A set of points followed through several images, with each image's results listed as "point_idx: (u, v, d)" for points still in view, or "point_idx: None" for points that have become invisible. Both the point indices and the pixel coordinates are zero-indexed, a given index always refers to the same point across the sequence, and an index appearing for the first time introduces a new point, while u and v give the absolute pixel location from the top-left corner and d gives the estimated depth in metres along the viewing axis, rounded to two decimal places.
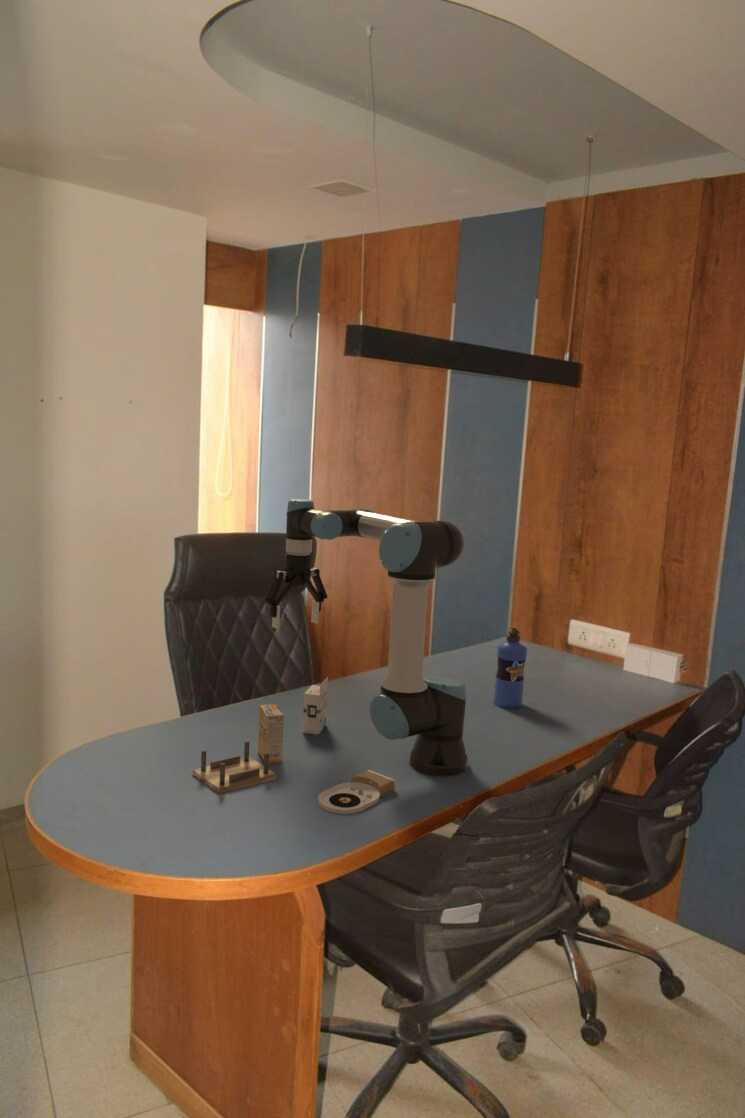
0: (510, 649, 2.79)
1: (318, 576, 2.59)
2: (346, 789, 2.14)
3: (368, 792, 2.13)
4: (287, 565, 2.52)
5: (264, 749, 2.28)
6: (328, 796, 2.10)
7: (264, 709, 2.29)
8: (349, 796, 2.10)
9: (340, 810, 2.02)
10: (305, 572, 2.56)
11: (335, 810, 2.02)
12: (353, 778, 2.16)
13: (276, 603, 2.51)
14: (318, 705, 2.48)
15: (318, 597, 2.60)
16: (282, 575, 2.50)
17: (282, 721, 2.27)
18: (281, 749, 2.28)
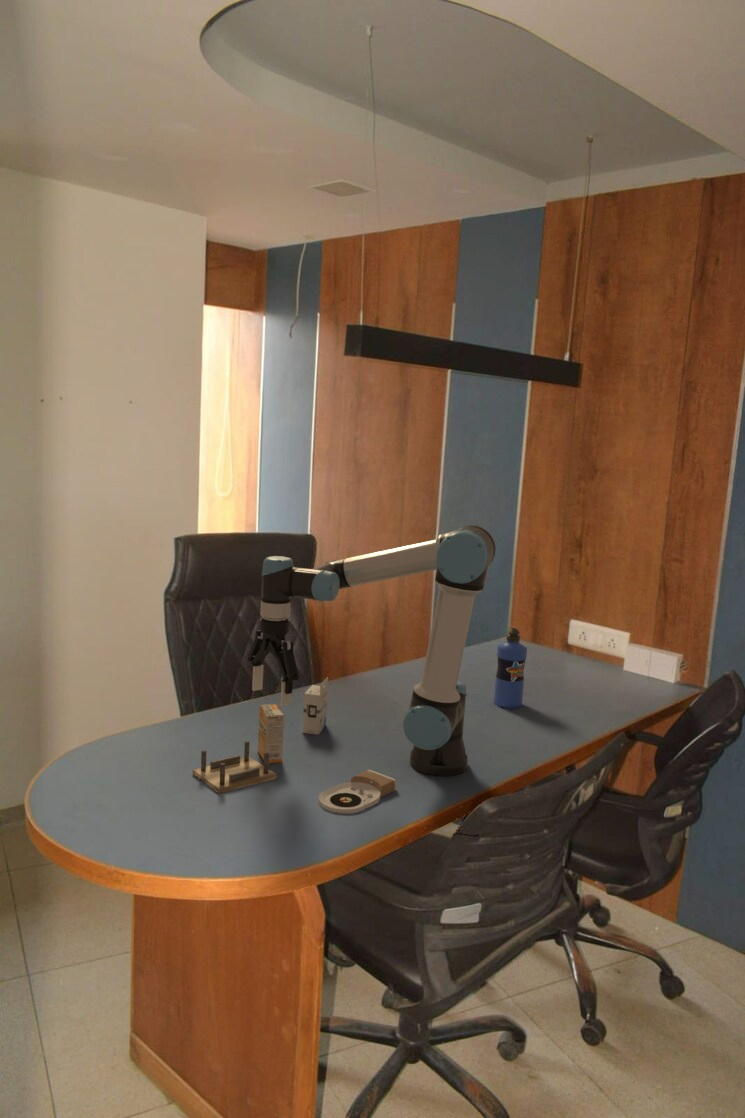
0: (510, 649, 2.79)
1: (284, 651, 2.21)
2: (347, 789, 2.14)
3: (369, 792, 2.13)
4: None
5: (264, 749, 2.28)
6: (329, 796, 2.10)
7: (264, 709, 2.29)
8: (350, 795, 2.10)
9: (341, 810, 2.02)
10: (274, 640, 2.24)
11: (336, 810, 2.02)
12: (354, 778, 2.16)
13: (252, 662, 2.33)
14: (318, 705, 2.48)
15: (283, 675, 2.22)
16: (257, 634, 2.30)
17: (282, 721, 2.27)
18: (281, 749, 2.28)
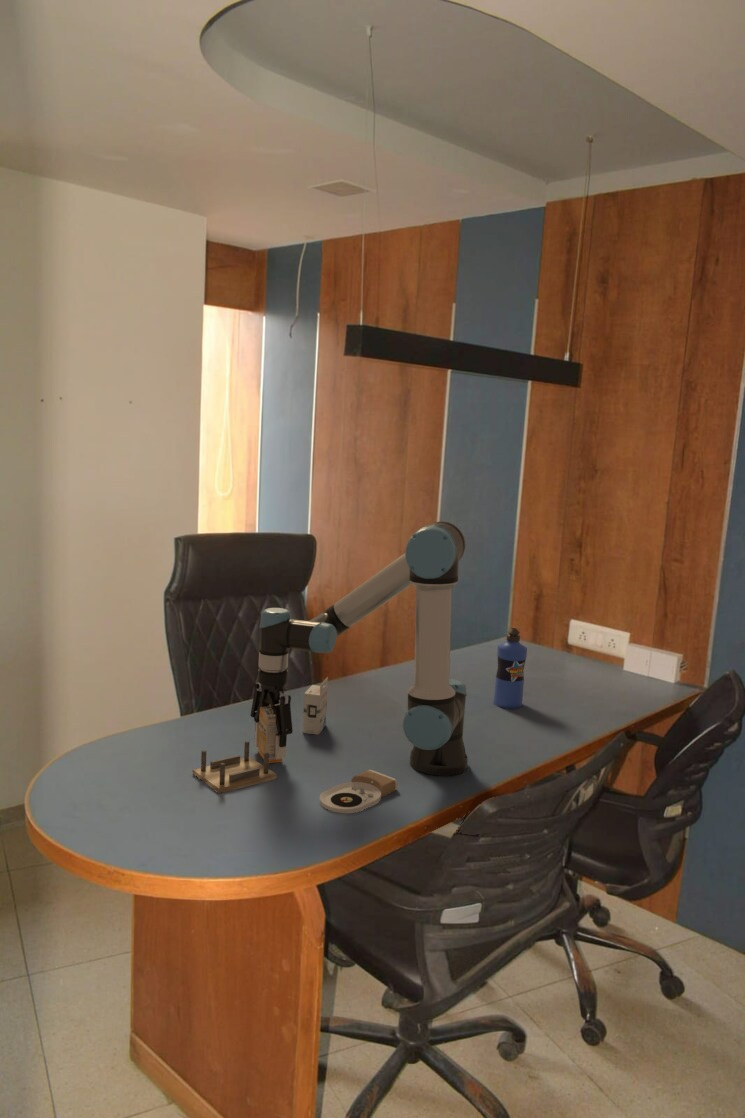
0: (510, 649, 2.79)
1: (281, 705, 2.24)
2: (347, 789, 2.14)
3: (369, 792, 2.13)
4: None
5: (264, 749, 2.28)
6: (330, 796, 2.10)
7: (264, 709, 2.29)
8: (350, 795, 2.11)
9: (342, 809, 2.02)
10: (272, 691, 2.27)
11: (336, 810, 2.02)
12: (354, 778, 2.16)
13: (255, 718, 2.34)
14: (318, 705, 2.48)
15: (278, 729, 2.26)
16: (256, 687, 2.33)
17: None
18: None
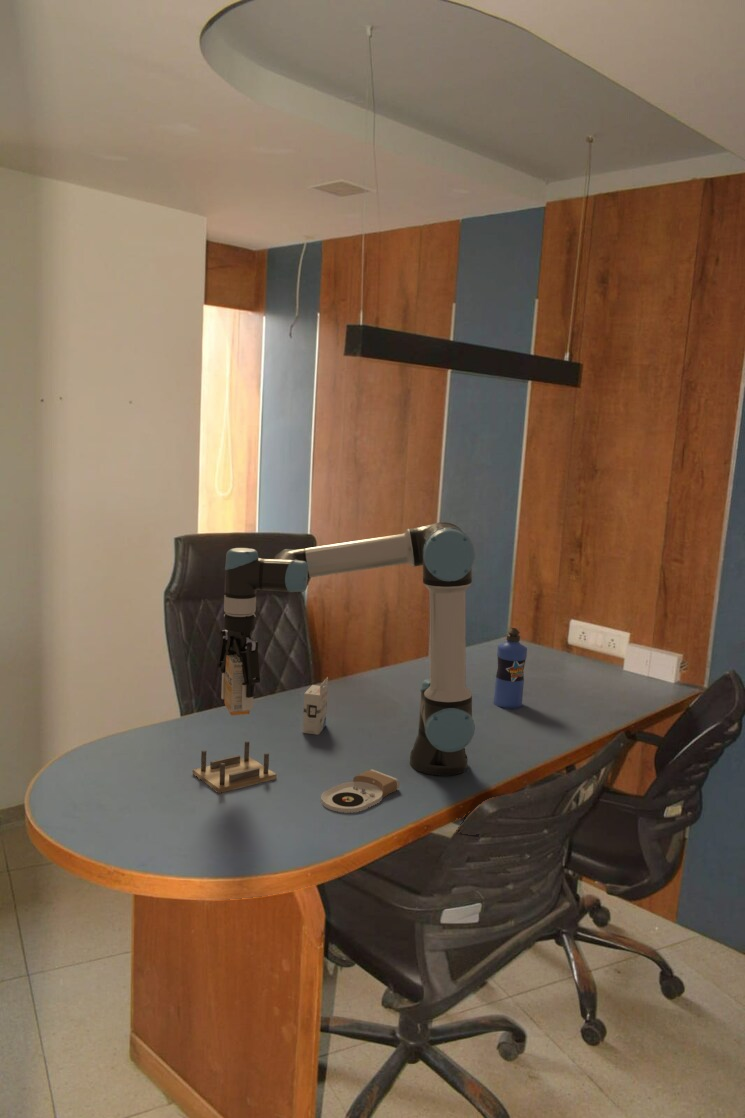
0: (510, 649, 2.79)
1: (247, 651, 2.08)
2: (349, 788, 2.15)
3: (371, 791, 2.13)
4: None
5: (230, 700, 2.12)
6: (331, 795, 2.10)
7: (230, 657, 2.13)
8: (352, 795, 2.11)
9: (343, 809, 2.02)
10: (239, 638, 2.10)
11: (338, 809, 2.02)
12: (356, 777, 2.17)
13: (221, 668, 2.18)
14: (318, 705, 2.48)
15: (244, 678, 2.09)
16: (222, 634, 2.17)
17: None
18: None
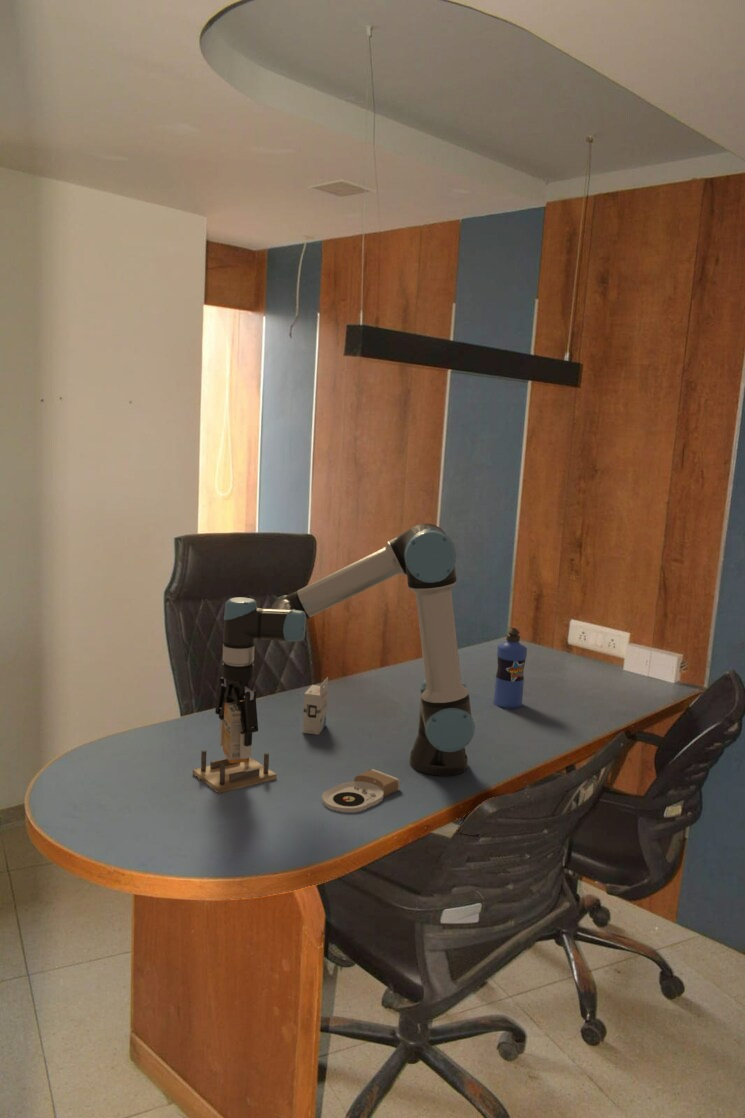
0: (510, 649, 2.79)
1: (246, 701, 2.10)
2: (350, 788, 2.15)
3: (372, 791, 2.14)
4: None
5: (228, 748, 2.13)
6: (332, 795, 2.11)
7: (228, 705, 2.15)
8: (353, 794, 2.11)
9: (344, 809, 2.02)
10: (237, 687, 2.12)
11: (339, 809, 2.03)
12: (357, 777, 2.17)
13: (219, 715, 2.20)
14: (318, 705, 2.48)
15: (242, 726, 2.11)
16: (220, 682, 2.19)
17: None
18: None
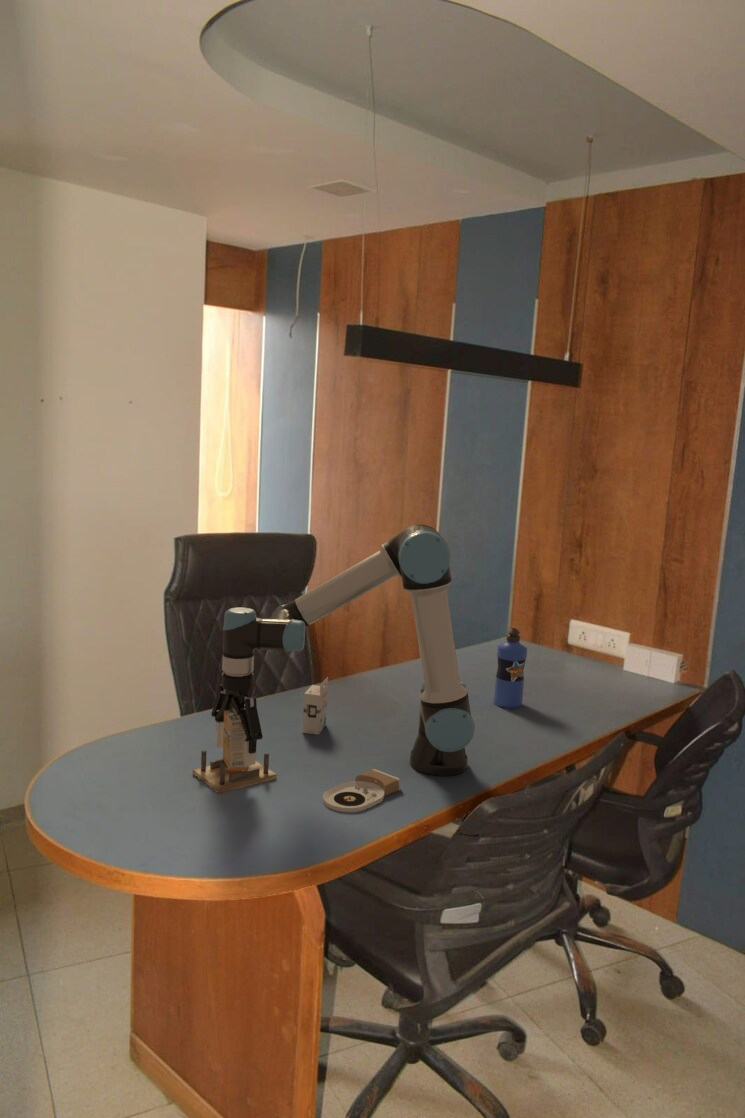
0: (510, 649, 2.79)
1: (246, 708, 2.10)
2: (351, 788, 2.15)
3: (373, 791, 2.14)
4: None
5: (228, 756, 2.14)
6: (333, 794, 2.11)
7: (228, 714, 2.16)
8: (354, 794, 2.11)
9: (344, 808, 2.03)
10: (237, 697, 2.13)
11: (339, 809, 2.03)
12: (358, 777, 2.17)
13: (216, 717, 2.21)
14: (318, 705, 2.48)
15: (246, 734, 2.10)
16: (220, 689, 2.19)
17: None
18: None
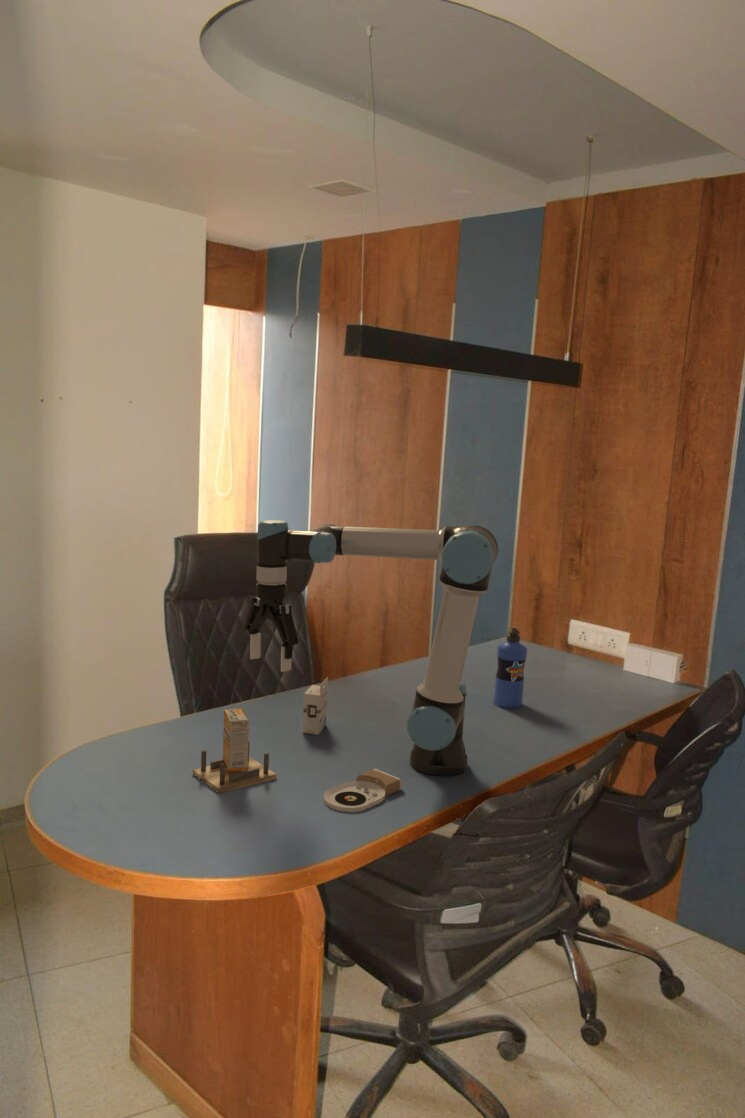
0: (510, 649, 2.79)
1: (282, 615, 2.18)
2: (352, 787, 2.15)
3: (374, 791, 2.14)
4: None
5: (228, 756, 2.14)
6: (334, 794, 2.11)
7: (228, 714, 2.16)
8: (355, 794, 2.11)
9: (345, 808, 2.03)
10: (272, 605, 2.21)
11: (340, 808, 2.03)
12: (359, 777, 2.17)
13: (249, 630, 2.29)
14: (318, 705, 2.48)
15: (282, 640, 2.18)
16: (253, 601, 2.27)
17: (247, 727, 2.13)
18: (246, 756, 2.14)
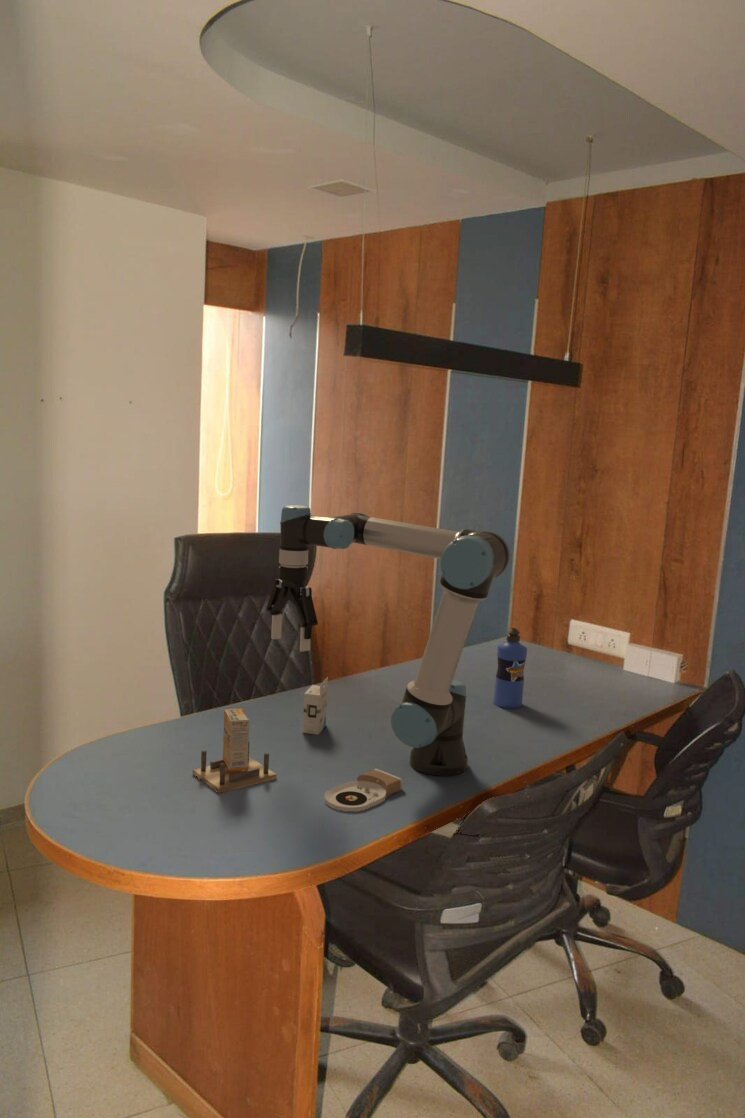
0: (510, 649, 2.79)
1: (302, 597, 2.26)
2: (353, 787, 2.15)
3: (375, 790, 2.14)
4: None
5: (228, 756, 2.14)
6: (335, 794, 2.11)
7: (228, 714, 2.16)
8: (355, 794, 2.12)
9: (346, 808, 2.03)
10: (293, 587, 2.29)
11: (341, 808, 2.03)
12: (360, 776, 2.17)
13: (271, 611, 2.38)
14: (318, 705, 2.48)
15: (302, 621, 2.27)
16: (276, 583, 2.35)
17: (247, 727, 2.13)
18: (246, 756, 2.14)
